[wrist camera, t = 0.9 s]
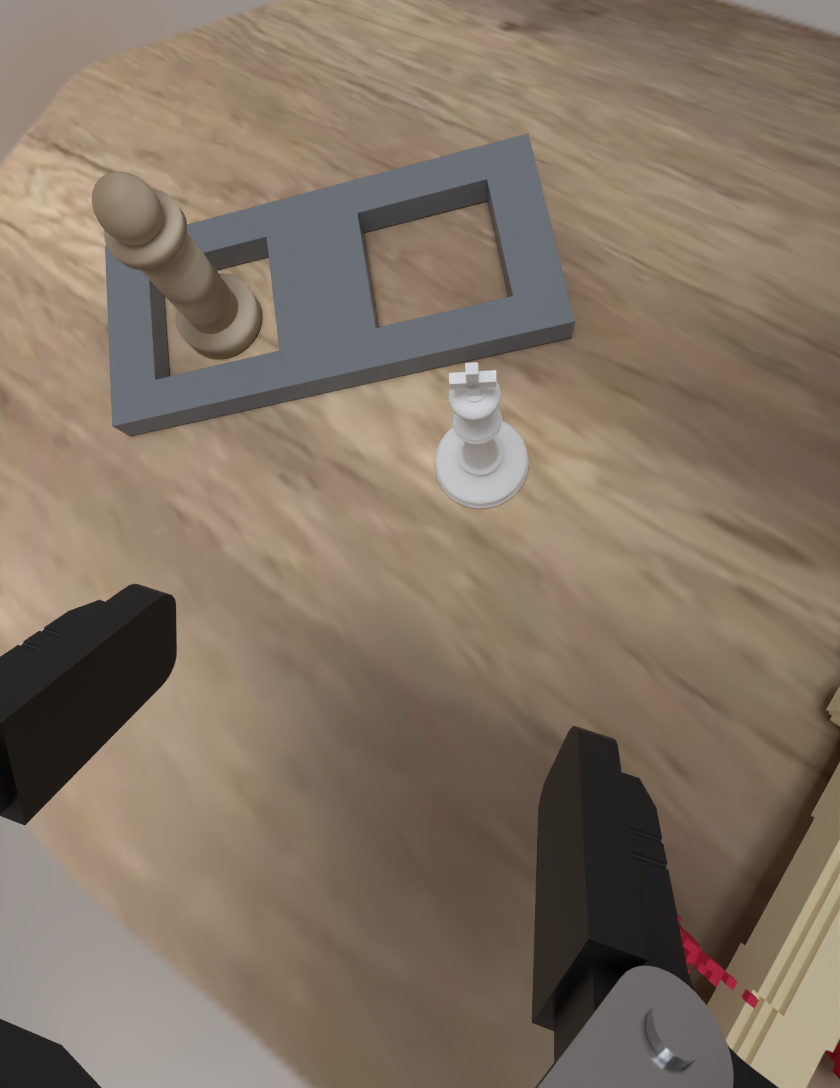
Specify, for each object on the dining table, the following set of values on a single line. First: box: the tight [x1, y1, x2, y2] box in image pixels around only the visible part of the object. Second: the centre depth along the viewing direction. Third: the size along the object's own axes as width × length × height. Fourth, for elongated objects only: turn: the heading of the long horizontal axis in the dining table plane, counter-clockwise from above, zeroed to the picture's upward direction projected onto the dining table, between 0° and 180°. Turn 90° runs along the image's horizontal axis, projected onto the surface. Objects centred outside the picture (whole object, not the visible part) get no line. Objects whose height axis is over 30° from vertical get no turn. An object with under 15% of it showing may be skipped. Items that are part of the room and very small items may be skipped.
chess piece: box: [435, 362, 529, 509], centre depth 24 cm, size 5×5×10 cm
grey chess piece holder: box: [105, 134, 575, 436], centre depth 31 cm, size 26×12×2 cm, turn 99°
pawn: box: [92, 172, 262, 359], centre depth 27 cm, size 5×5×10 cm
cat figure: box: [677, 687, 840, 1088], centre depth 19 cm, size 10×9×25 cm
